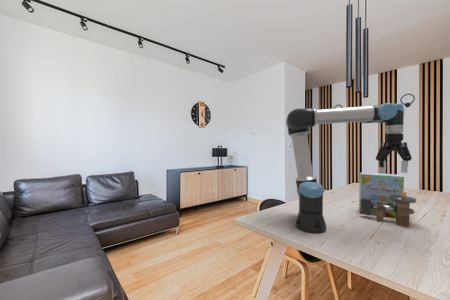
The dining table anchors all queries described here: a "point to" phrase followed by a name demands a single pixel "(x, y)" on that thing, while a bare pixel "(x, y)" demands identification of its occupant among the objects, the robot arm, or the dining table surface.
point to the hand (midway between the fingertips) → (393, 173)
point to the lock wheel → (403, 198)
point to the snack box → (380, 190)
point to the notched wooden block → (401, 213)
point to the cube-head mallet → (368, 205)
